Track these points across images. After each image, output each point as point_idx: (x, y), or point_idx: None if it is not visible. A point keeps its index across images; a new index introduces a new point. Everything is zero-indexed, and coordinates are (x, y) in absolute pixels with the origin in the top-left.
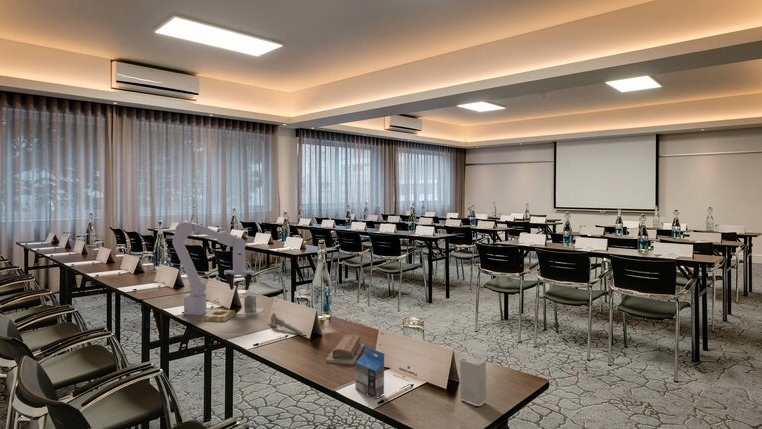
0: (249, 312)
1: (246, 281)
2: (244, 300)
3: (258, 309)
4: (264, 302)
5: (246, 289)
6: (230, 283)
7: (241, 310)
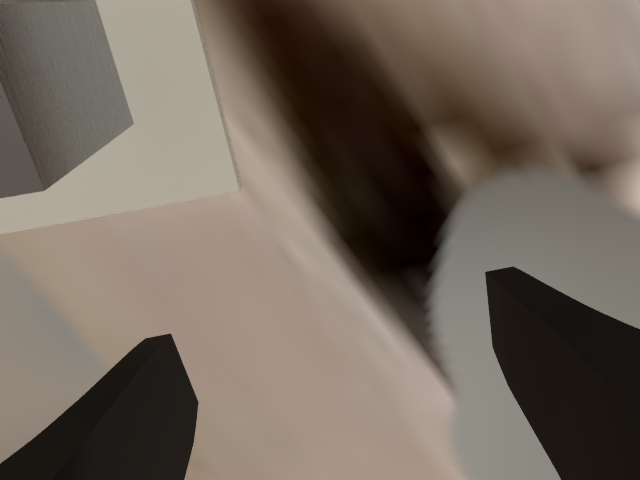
0: None
1: (26, 474)
2: (4, 4)
3: None
4: (208, 454)
5: (146, 340)
6: (565, 330)
7: (201, 69)
